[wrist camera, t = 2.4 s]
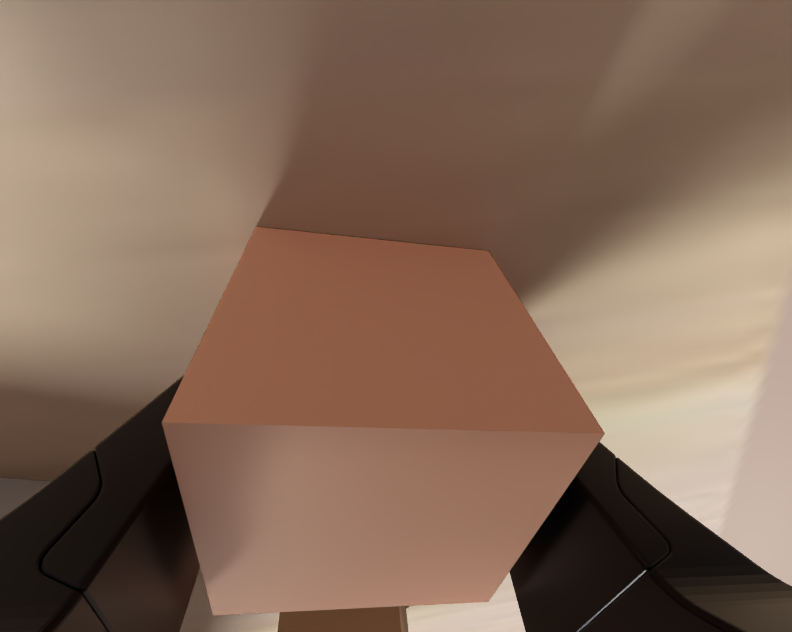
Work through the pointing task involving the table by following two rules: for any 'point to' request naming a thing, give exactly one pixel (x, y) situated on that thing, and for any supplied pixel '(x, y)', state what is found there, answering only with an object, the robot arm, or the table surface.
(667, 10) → the table surface
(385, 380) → the terracotta cube
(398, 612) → the walnut cube
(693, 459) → the table surface
